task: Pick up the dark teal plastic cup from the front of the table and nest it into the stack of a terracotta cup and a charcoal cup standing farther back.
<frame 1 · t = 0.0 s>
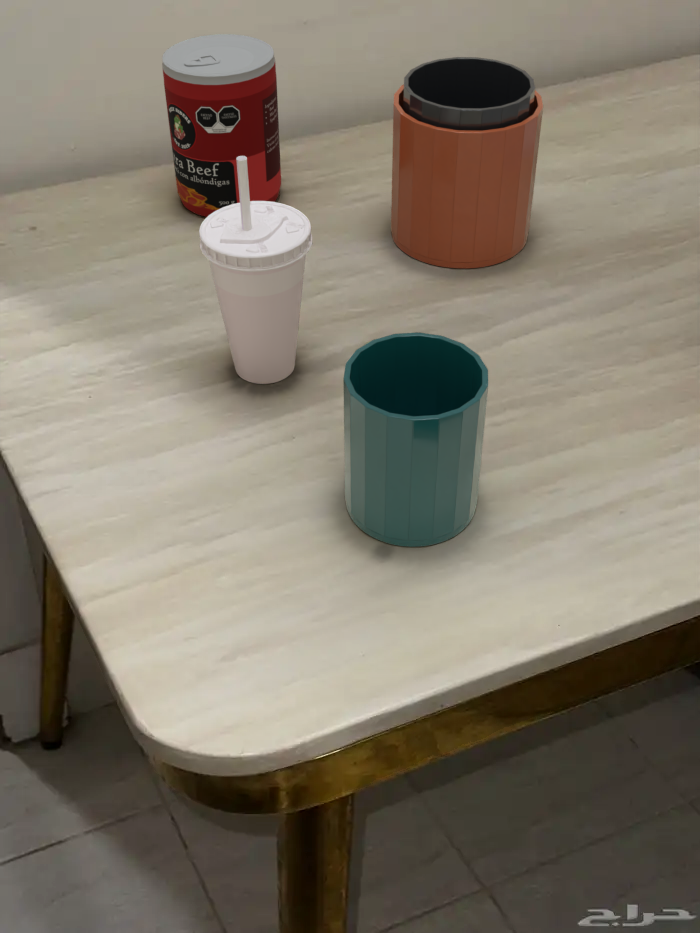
smoothie: (265, 368, 69), on the table
teal cup: (410, 500, 60), on the table
stack top: (463, 161, 77), in the stack
stack: (459, 232, 81), on the table
canned food: (230, 198, 85), on the table
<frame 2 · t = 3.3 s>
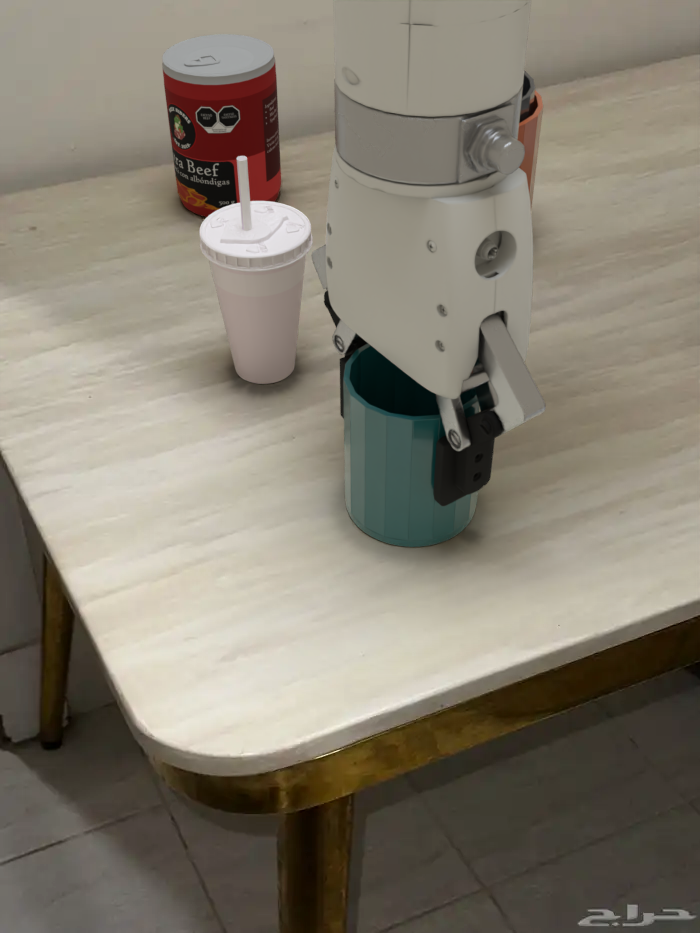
hand: (412, 448, 57), 4 cm above the table, tool pointing down, fingers closed on teal cup, 7 cm apart
teal cup: (410, 500, 59), on the table, touching gripper
everything else where it was.
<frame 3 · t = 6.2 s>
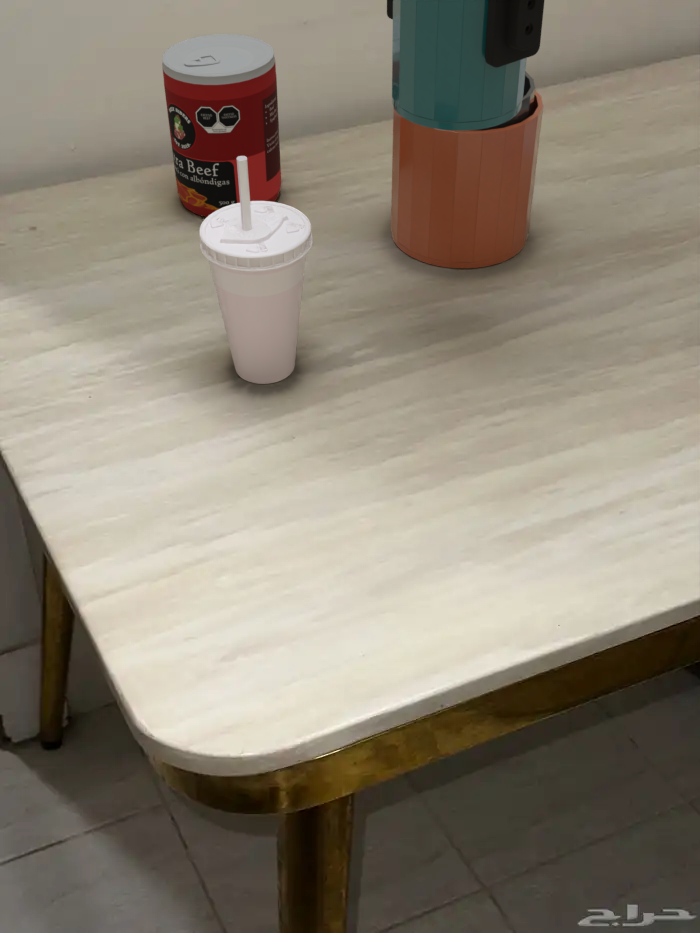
hand: (460, 33, 58), 19 cm above the table, tool pointing down, fingers closed on teal cup, 7 cm apart
teal cup: (456, 102, 60), point 16 cm above the table, touching gripper
everything else where it was.
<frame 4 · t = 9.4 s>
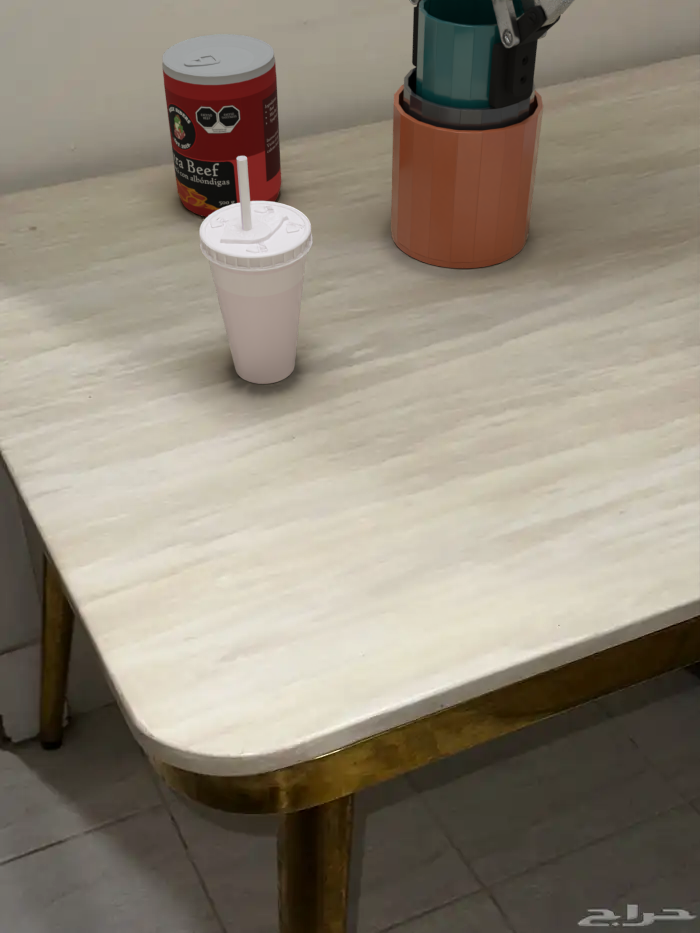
hand: (470, 79, 73), 11 cm above the table, tool pointing down, fingers closed on teal cup, 7 cm apart
teal cup: (466, 133, 75), point 8 cm above the table, touching gripper
everything else where it was.
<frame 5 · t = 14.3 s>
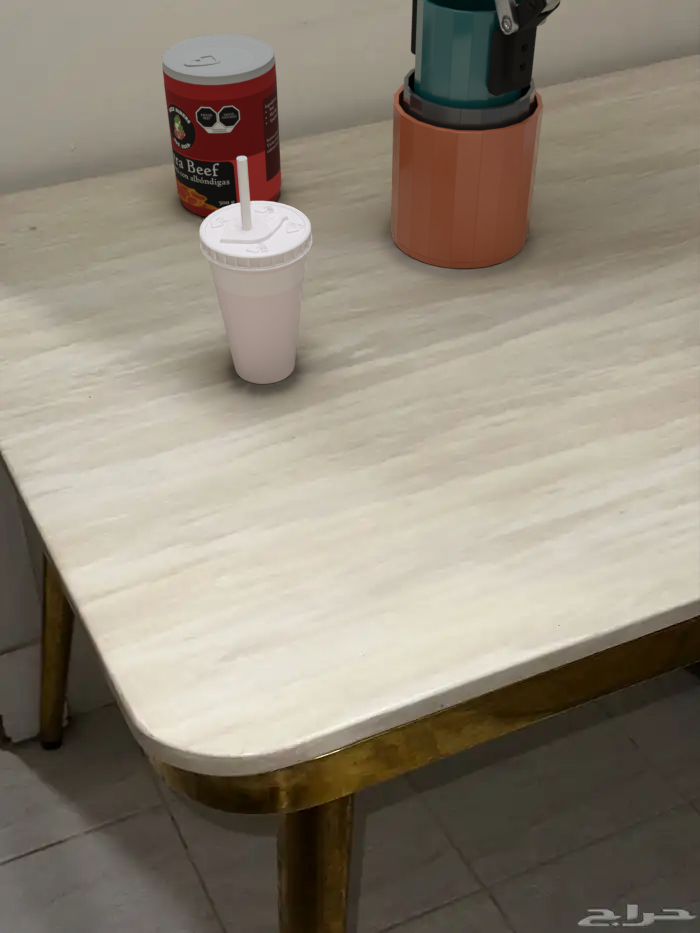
hand: (469, 67, 72), 12 cm above the table, tool pointing down, fingers closed on teal cup, 7 cm apart
teal cup: (465, 122, 75), point 8 cm above the table, touching gripper
everything else where it was.
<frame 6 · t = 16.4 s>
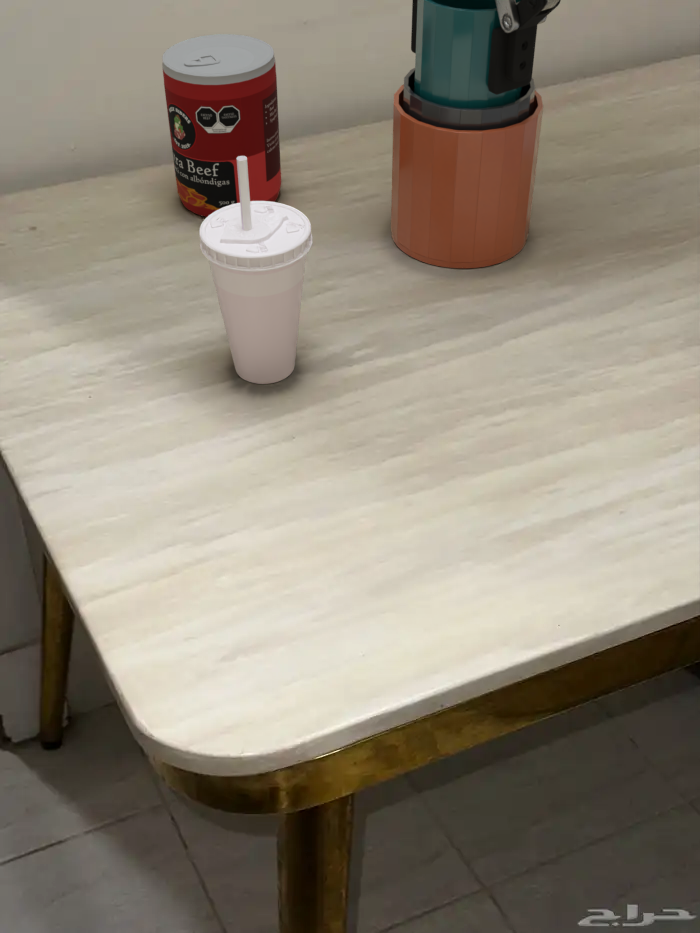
hand: (469, 66, 72), 12 cm above the table, tool pointing down, fingers closed on teal cup, 7 cm apart
teal cup: (465, 120, 75), point 9 cm above the table, touching gripper
everything else where it was.
when the fingers open (12 cm above the table, at t = 18.4 s): teal cup drops 8 cm, resting on stack top.
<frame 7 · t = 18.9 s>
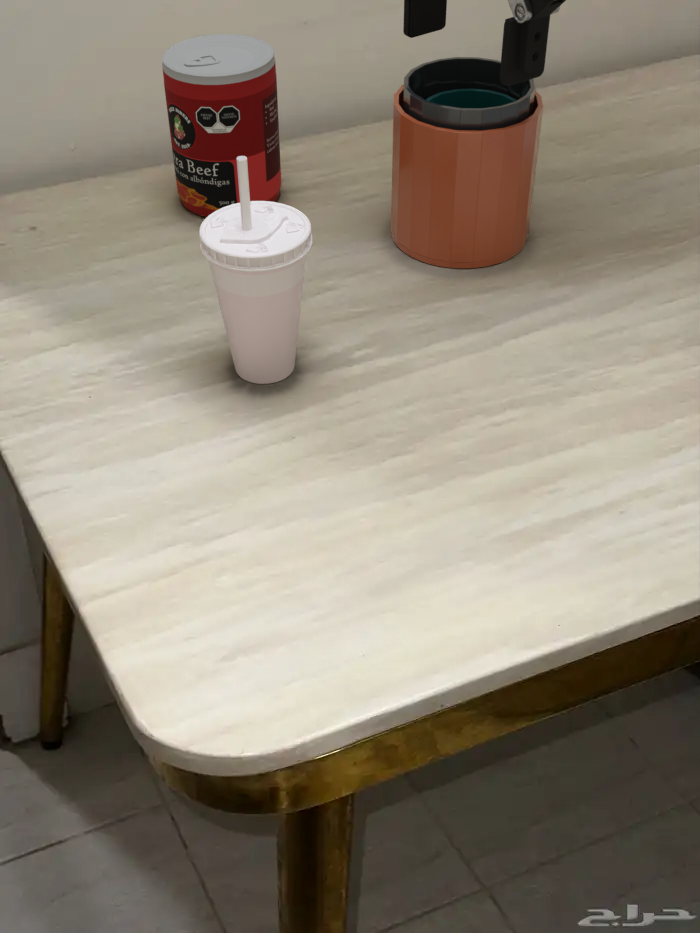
hand: (471, 55, 72), 13 cm above the table, tool pointing down, fingers open, 9 cm apart
teal cup: (464, 222, 80), point 1 cm above the table, touching stack top
everything else where it was.
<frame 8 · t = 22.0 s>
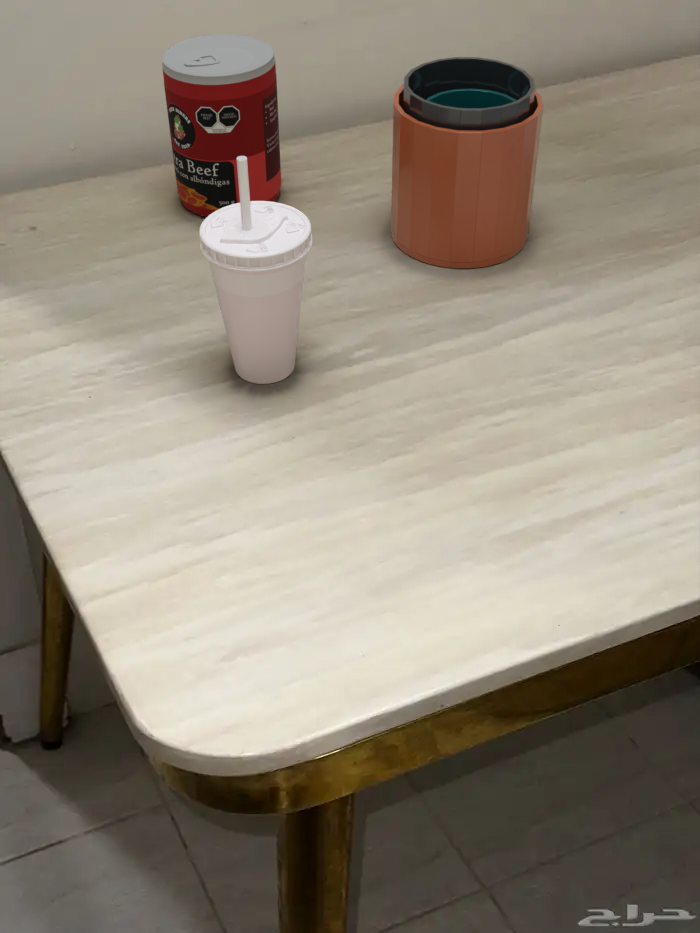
nothing on the table moved.
at the end: teal cup 0.3 cm off-centre in the stack, point 0.8 cm above the stack's base; teal cup tilted 0°; the gripper is holding nothing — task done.
